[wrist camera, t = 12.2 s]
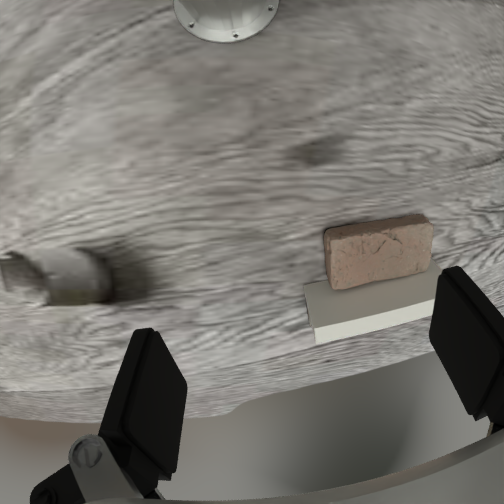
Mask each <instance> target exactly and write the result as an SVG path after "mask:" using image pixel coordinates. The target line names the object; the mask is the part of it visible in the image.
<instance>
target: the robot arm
mask: <svg viewBox="0 0 504 504" xmlns="http://www.w3.org/2000/svg"><path fill="white" fill-rule="evenodd" d="M173 4H174V11H175V14H176V16H177V19H178V20H179V22H180V23H181V25H182V26H183V27H184V28H185V29H186V30H187V31H188V32H190V33H191V34H192V35H194V36H196V37H198V38H200V39H202V40H205V41H208V42H213V43H235V42H240V41H243V40H246V39H249V38H251V37H253V36H255V35H257V34H258V33H260V32H261V31H262V30H263V29H265V28H266V27H267V26H268V24H269V23H270V22H271V21H272V19H273V17H274V16H275V14H276V12H277V9H278V4H279V0H174V1H173ZM269 8H271V9H272V11H269V10H268V9H269ZM191 25H194V27H193V28H190V26H191ZM234 35H238V37H237V38H234ZM429 339H430V342H431V344H432V346H433V348H434V349H435V351H436V353H437V355H438V356H439V358H440V360H441V362H442V364H443V366H444V368H445V370H446V371H447V373H448V375H449V377H450V379H451V381H452V383H453V385H454V387H455V389H456V391H457V393H458V395H459V397H460V399H461V401H462V403H463V405H464V407H465V409H466V411H467V413H468V414H469V415H473V417H474V419H475V421H477V420H479V419H481V418H483V417H486V416H488V418H489V420H490V425H489V429H488V433H487V437H486V438H484V439H481V440H479V441H477V442H475V443H473V444H471V445H468V446H466V447H464V448H462V449H459V450H457V451H454V452H452V453H450V454H447V455H445V456H442V457H440V458H437V459H434V460H432V461H429V462H426V463H424V464H421V465H418V466H415V467H412V468H409V469H406V470H403V471H400V472H396V473H393V474H390V475H386V476H383V477H379V478H376V479H372V480H368V481H365V482H360V483H356V484H352V485H347V486H343V487H338V488H333V489H328V490H323V491H317V492H311V493H304V494H297V495H290V496H282V497H273V498H262V499H249V500H230V501H229V500H228V501H181V500H180V501H179V500H165V498H164V497H163V496H162V494H161V493H160V492H159V490H158V489H157V485H158V480H167V481H170V480H171V476H172V473H175V472H176V469H177V461H178V454H179V446H180V438H181V431H182V424H183V417H184V410H185V403H186V397H187V383H186V380H185V379H184V377H183V375H182V373H181V372H180V370H179V368H178V366H177V365H176V363H175V361H174V359H173V357H172V356H171V354H170V352H169V350H168V348H167V346H166V345H165V343H164V341H163V339H162V337H161V335H160V333H159V332H158V331H154V330H153V329H152V328H143V329H136V330H134V332H133V335H132V337H131V340H130V343H129V345H128V348H127V351H126V353H125V356H124V359H123V362H122V365H121V367H120V370H119V373H118V375H117V378H116V380H115V383H114V386H113V389H112V392H111V395H110V398H109V401H108V404H107V407H106V410H105V414H104V417H103V420H102V423H101V427H100V430H99V433H98V435H94V434H89V435H84V436H82V437H80V438H79V439H77V440H76V441H75V442H74V443H73V445H72V446H71V448H70V451H69V456H68V459H69V464H67V465H66V466H65V467H63V468H61V469H60V470H58V471H57V472H56V473H54V474H53V475H51V476H50V477H48V478H47V479H45V480H43V481H42V482H40V483H39V484H38V485H37V486H35V487H34V489H33V490H32V492H31V495H30V504H504V317H503V316H502V315H501V313H500V312H499V311H498V310H497V308H496V307H495V306H494V305H493V304H492V302H491V301H490V300H489V299H488V298H487V296H486V295H485V294H484V293H483V292H482V291H481V289H480V288H479V287H478V286H477V285H476V284H475V283H474V282H473V280H472V279H471V278H470V277H469V276H468V275H467V274H466V273H465V272H464V270H463V269H462V268H461V267H459V266H454V267H450V268H446V269H444V270H443V271H442V273H441V275H439V276H438V280H437V287H436V295H435V301H434V308H433V314H432V320H431V325H430V331H429Z"/></svg>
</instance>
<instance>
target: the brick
mask: <svg viewBox="0 0 504 504" xmlns="http://www.w3.org/2000/svg"><path fill="white" fill-rule="evenodd" d="M433 230H434V227H433V224H432V223H430V222H429V220H428V218H426V217H425V216H424V215H420V214H418V215H409V216H405V217H402V218H390V219H386V220H377V221H371V222H367V223H358V224H352V225H345V226H341V227H336V228H330V229H328V230H326V232H325V234H324V245H325V263H326V272H327V277H328V282H329V285H330V286H331V288H333V289H346V288H351V287H355V286H358V285H361V284H365V283H369V282H372V281H374V280H376V281H379V280H386V279H392V278H397V277H402V276H409V275H411V274H417V273H419V272H424V271H426V270H427V269H428V267H429V262H430V258H431V256H432V255H431V248H432V240H433Z"/></svg>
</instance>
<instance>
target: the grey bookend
mask: <svg viewBox="0 0 504 504" xmlns="http://www.w3.org/2000/svg"><path fill="white" fill-rule="evenodd" d="M442 271H443V270H442V269H441V268H440V267H439V266H438V265H437V263H436V262H435V261H434V260H433V259H432V258H430V262H429V267H428V269H427V270H426V271H424V272H419V273H417V274H411V275H409V276H402V277H397V278H392V279H386V280H379V281H376V280H374V281H372V282H369V283H365V284H361V285H358V286H355V287H351V288H346V289H333V288H331V286H330V285H329V282H328V280H325V281H320V282H315V283H310V284H305V285H303V286H304V292H305V299H306V305H307V312H308V319H309V324H310V326H312V328H313V332H314V337H315V341H316V344H319V343H324V342H329V341H333V340H338V339H342V338H347V337H351V336H355V335H360V334H364V333H368V332H372V331H376V330H380V329H384V328H388V327H391V326H395V325H399V324H402V323H406V322H410V321H413V320H417V319H420V318H424V317H427V316H430V315H432V314H433V308H434V301H435V295H436V287H437V280H438V276H439V275H441V273H442Z"/></svg>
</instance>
